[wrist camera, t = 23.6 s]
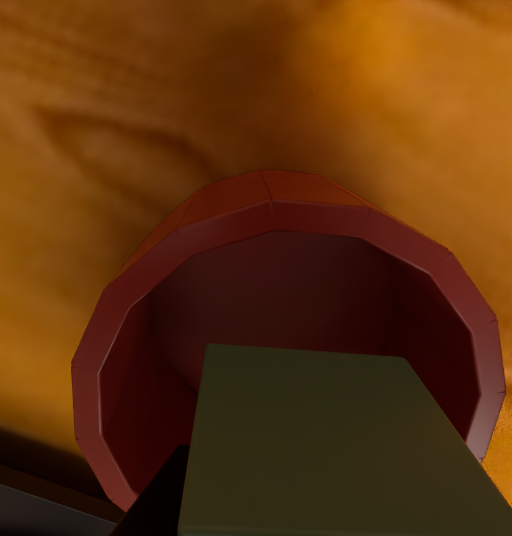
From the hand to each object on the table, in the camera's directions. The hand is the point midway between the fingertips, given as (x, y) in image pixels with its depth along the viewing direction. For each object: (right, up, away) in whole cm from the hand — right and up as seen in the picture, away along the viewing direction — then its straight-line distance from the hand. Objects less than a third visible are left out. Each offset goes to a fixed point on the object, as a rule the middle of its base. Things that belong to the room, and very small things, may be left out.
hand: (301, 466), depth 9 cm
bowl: (0, +3, +8) cm, 8 cm away
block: (0, 0, +1) cm, 1 cm away
